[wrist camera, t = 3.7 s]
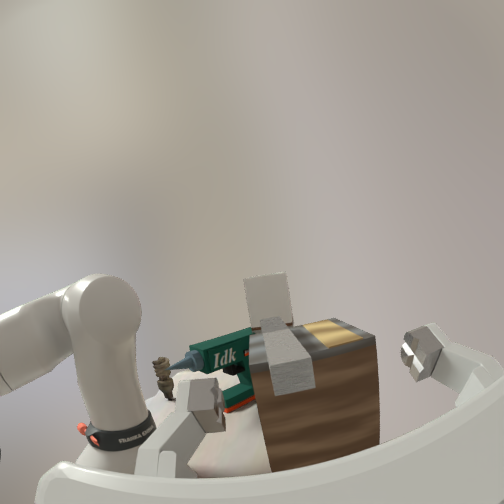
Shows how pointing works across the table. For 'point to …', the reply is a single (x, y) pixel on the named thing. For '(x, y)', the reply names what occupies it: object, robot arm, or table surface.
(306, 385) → the brushed metal bar
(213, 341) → the power tool
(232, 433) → the table surface
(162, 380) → the brown carved figurine
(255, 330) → the white cradle pedestal
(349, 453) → the stand
